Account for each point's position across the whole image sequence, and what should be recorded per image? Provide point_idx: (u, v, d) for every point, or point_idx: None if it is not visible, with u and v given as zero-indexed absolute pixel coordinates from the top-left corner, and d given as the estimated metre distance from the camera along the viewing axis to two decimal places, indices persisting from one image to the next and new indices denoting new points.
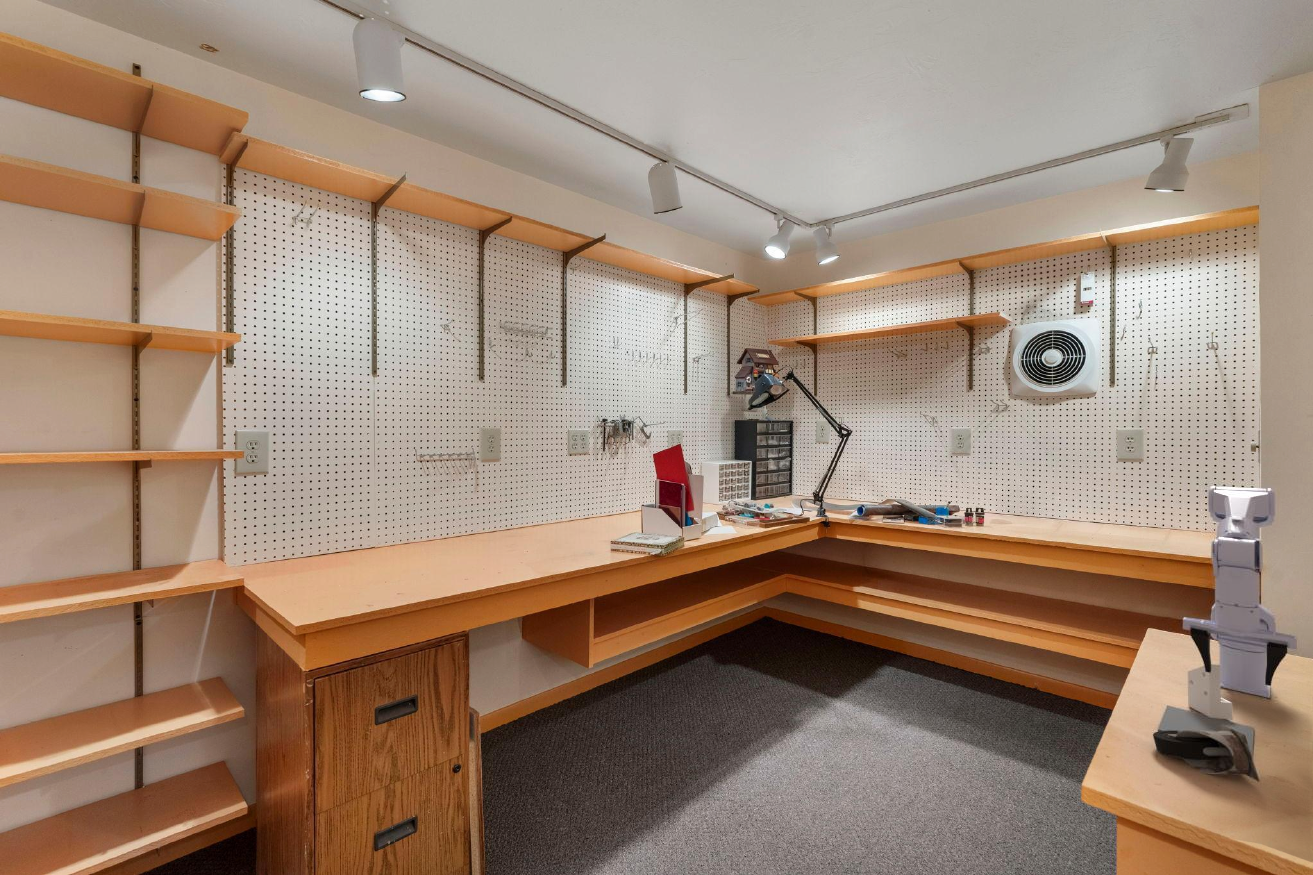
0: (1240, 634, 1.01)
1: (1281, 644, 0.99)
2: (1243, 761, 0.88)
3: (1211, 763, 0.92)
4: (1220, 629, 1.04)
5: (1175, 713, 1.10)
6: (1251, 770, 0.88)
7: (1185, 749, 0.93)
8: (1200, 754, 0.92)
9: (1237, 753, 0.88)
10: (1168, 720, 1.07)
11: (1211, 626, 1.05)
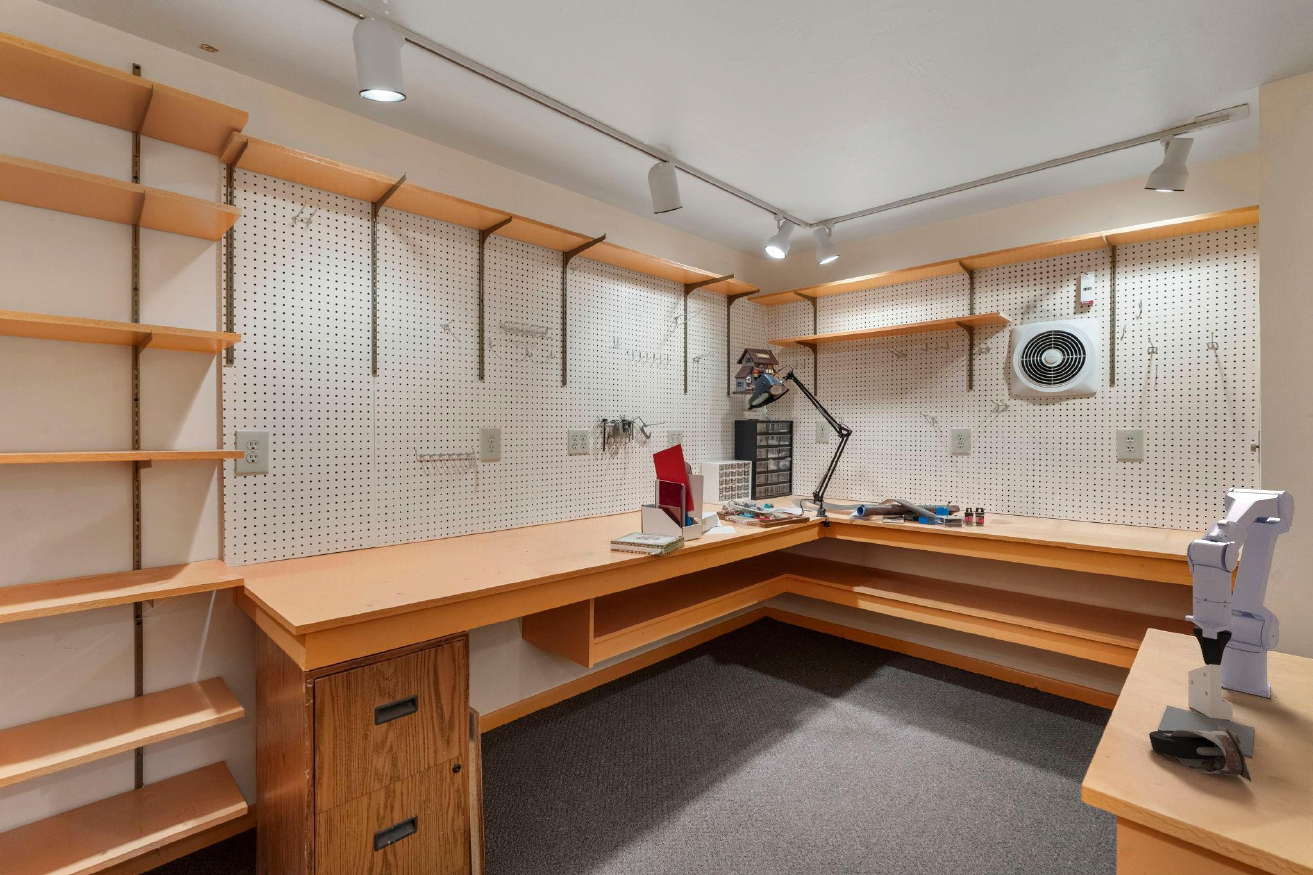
0: (1185, 617, 1.19)
1: None
2: (1235, 761, 0.88)
3: (1206, 763, 0.92)
4: None
5: (1175, 713, 1.10)
6: (1244, 770, 0.88)
7: (1178, 748, 0.93)
8: (1193, 754, 0.92)
9: (1229, 753, 0.88)
10: (1168, 720, 1.07)
11: None
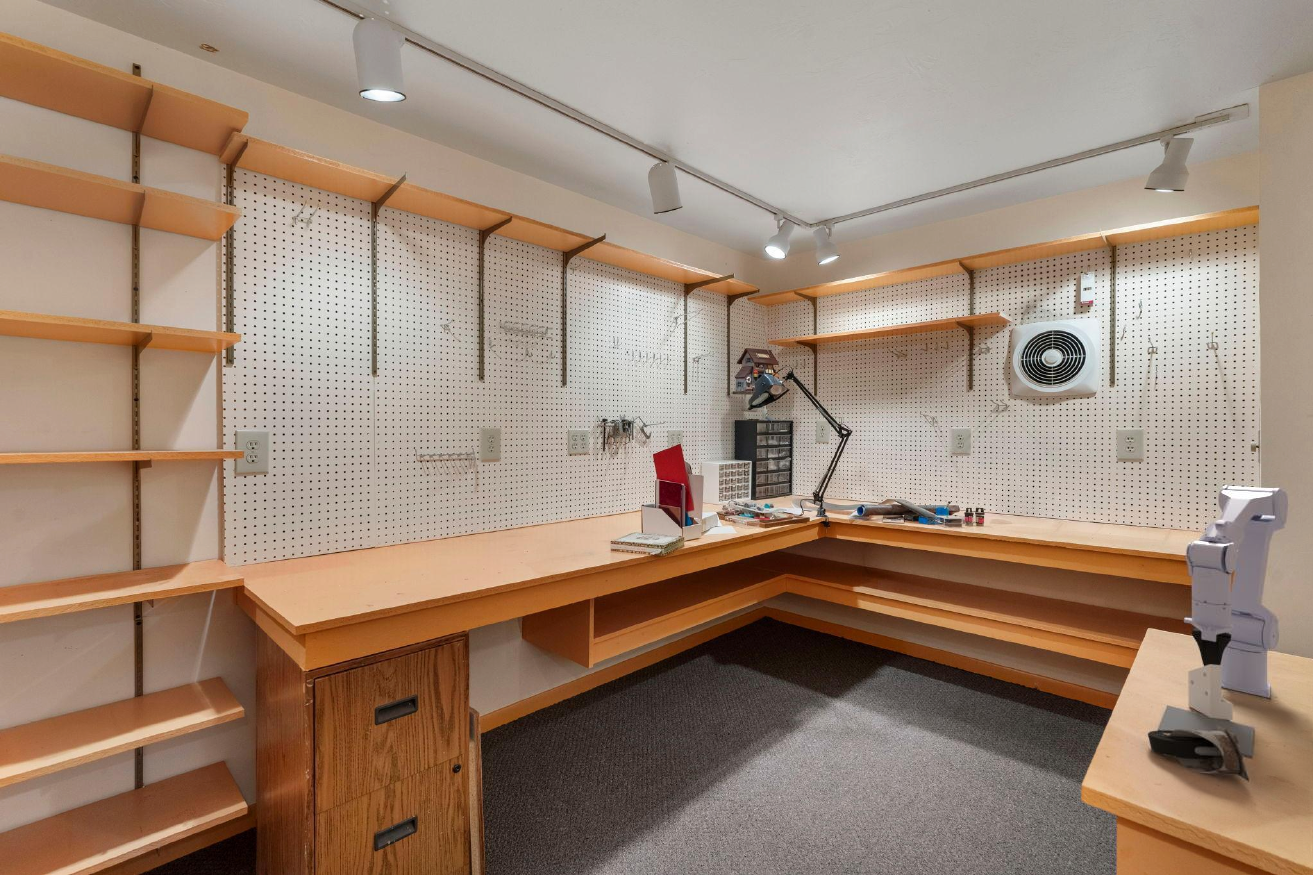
0: (1184, 619, 1.17)
1: None
2: (1233, 761, 0.88)
3: (1205, 762, 0.92)
4: None
5: (1175, 713, 1.10)
6: (1242, 770, 0.88)
7: (1176, 748, 0.93)
8: (1192, 753, 0.92)
9: (1227, 753, 0.88)
10: (1168, 720, 1.07)
11: None
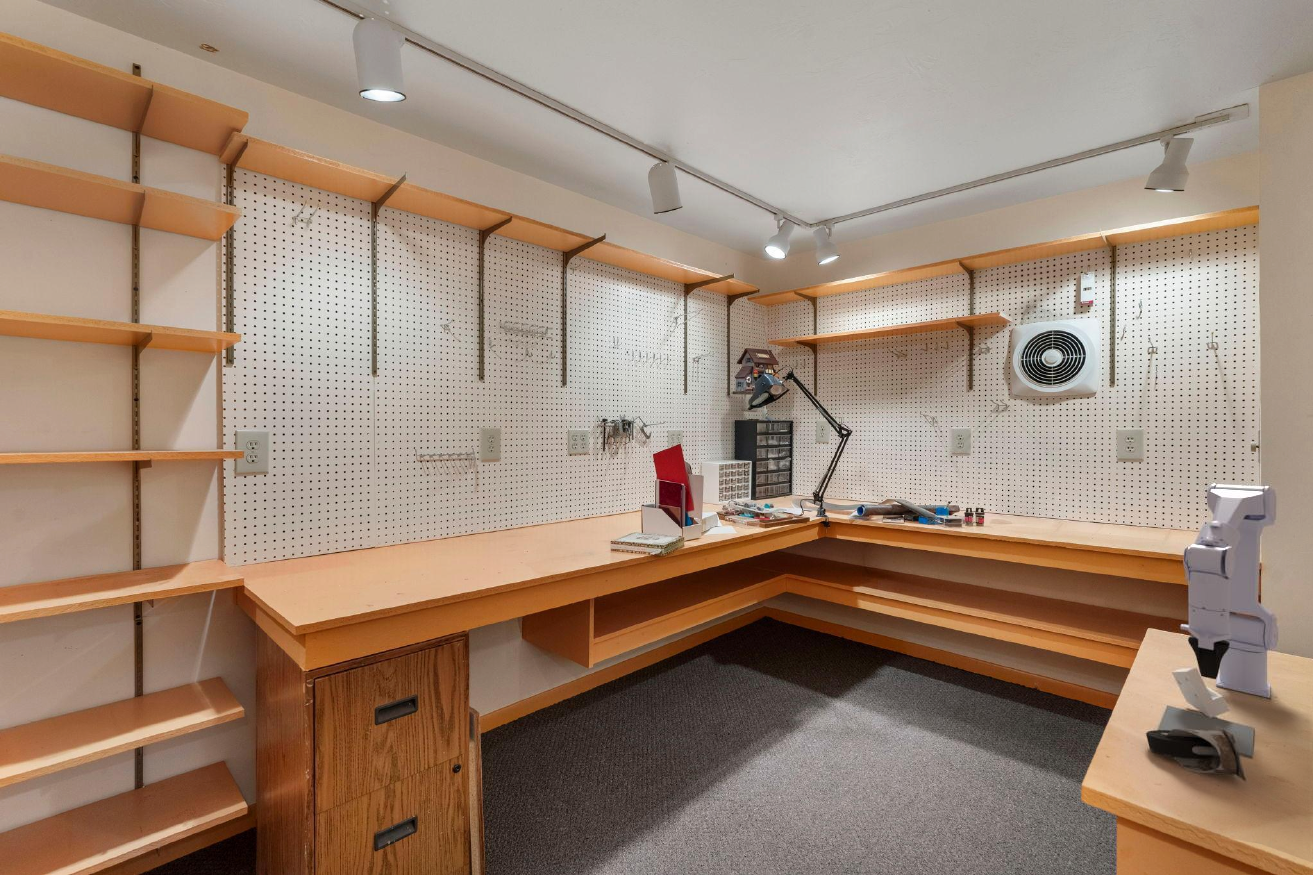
0: (1180, 626, 1.13)
1: None
2: (1230, 760, 0.88)
3: (1202, 762, 0.92)
4: None
5: (1175, 713, 1.10)
6: (1239, 770, 0.88)
7: (1174, 747, 0.93)
8: (1189, 753, 0.92)
9: (1224, 752, 0.88)
10: (1168, 720, 1.07)
11: None
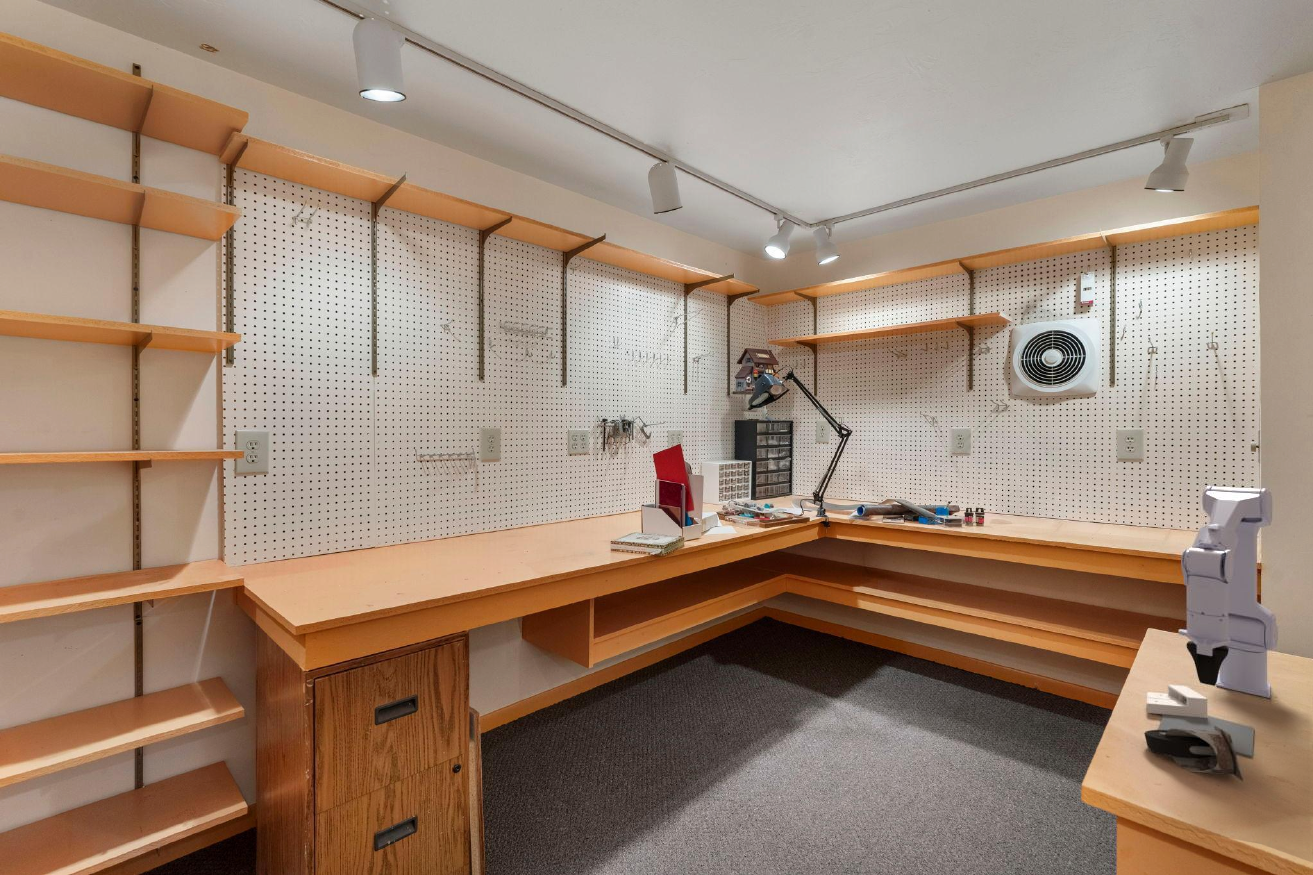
0: None
1: None
2: (1227, 760, 0.88)
3: (1200, 762, 0.93)
4: None
5: None
6: (1237, 770, 0.88)
7: (1171, 746, 0.93)
8: (1186, 752, 0.92)
9: (1221, 752, 0.88)
10: (1168, 720, 1.07)
11: None
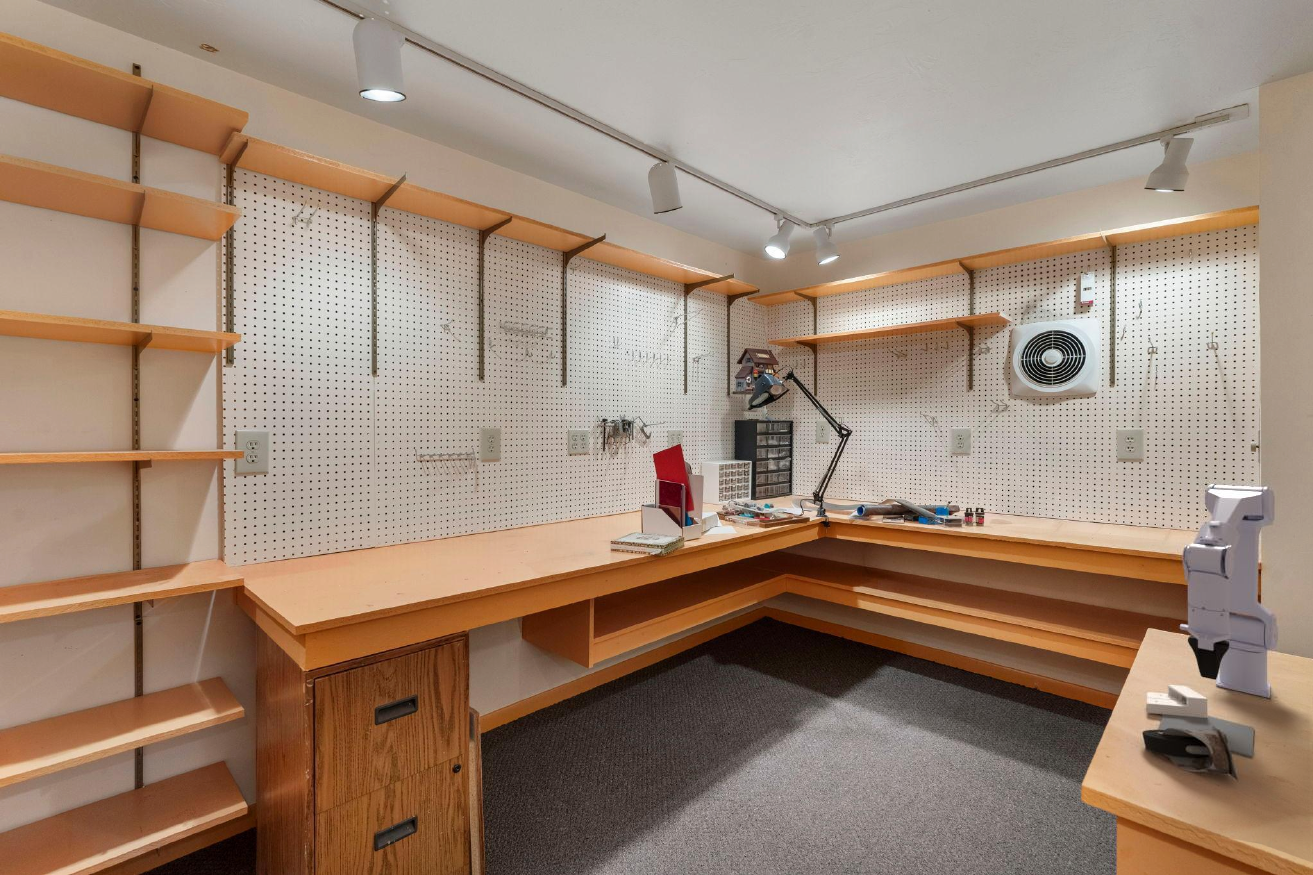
0: None
1: None
2: (1222, 760, 0.88)
3: (1197, 762, 0.93)
4: None
5: None
6: (1232, 770, 0.88)
7: (1167, 746, 0.94)
8: (1182, 752, 0.92)
9: (1216, 752, 0.88)
10: (1168, 720, 1.07)
11: None
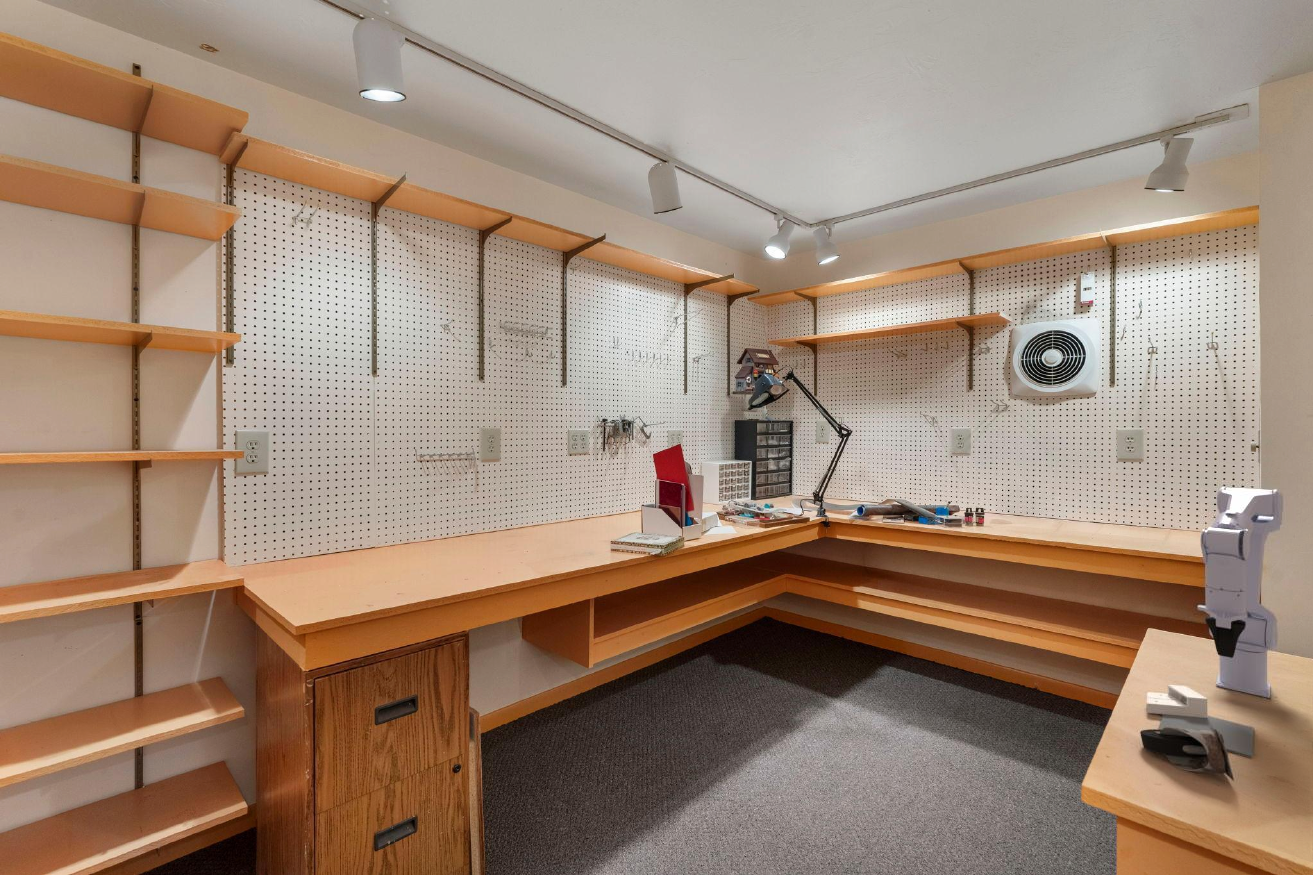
0: None
1: None
2: (1218, 759, 0.88)
3: (1194, 761, 0.93)
4: None
5: None
6: (1228, 770, 0.88)
7: (1164, 745, 0.94)
8: (1179, 751, 0.93)
9: (1212, 751, 0.89)
10: (1168, 720, 1.07)
11: None
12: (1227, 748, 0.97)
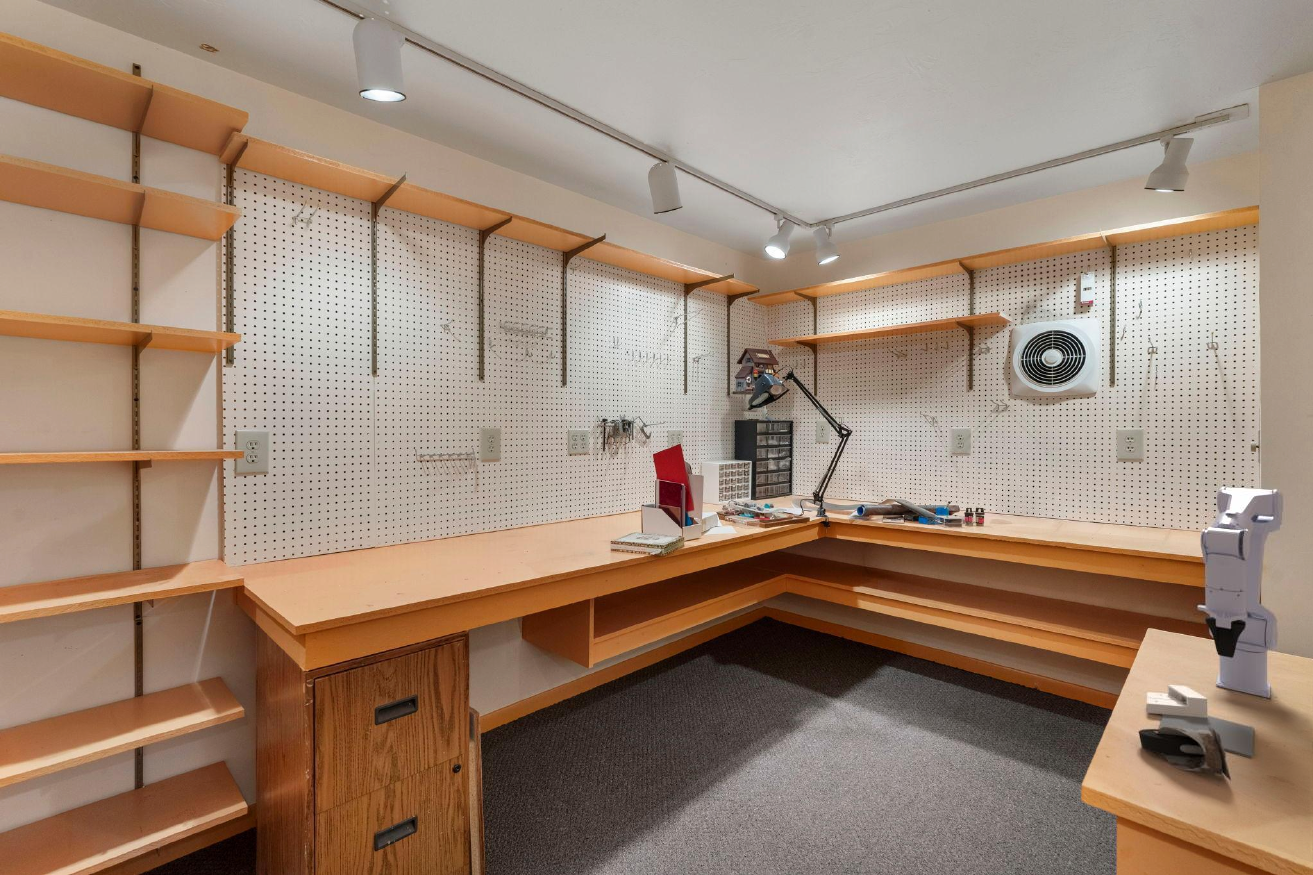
0: None
1: None
2: (1215, 759, 0.88)
3: (1192, 761, 0.93)
4: None
5: None
6: (1226, 769, 0.88)
7: (1162, 744, 0.94)
8: (1177, 751, 0.93)
9: (1209, 751, 0.89)
10: (1168, 720, 1.07)
11: None
12: (1227, 748, 0.97)
